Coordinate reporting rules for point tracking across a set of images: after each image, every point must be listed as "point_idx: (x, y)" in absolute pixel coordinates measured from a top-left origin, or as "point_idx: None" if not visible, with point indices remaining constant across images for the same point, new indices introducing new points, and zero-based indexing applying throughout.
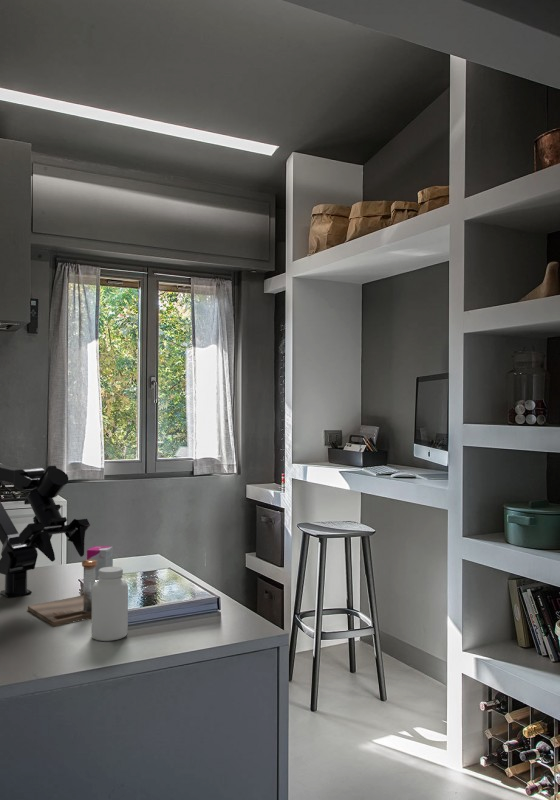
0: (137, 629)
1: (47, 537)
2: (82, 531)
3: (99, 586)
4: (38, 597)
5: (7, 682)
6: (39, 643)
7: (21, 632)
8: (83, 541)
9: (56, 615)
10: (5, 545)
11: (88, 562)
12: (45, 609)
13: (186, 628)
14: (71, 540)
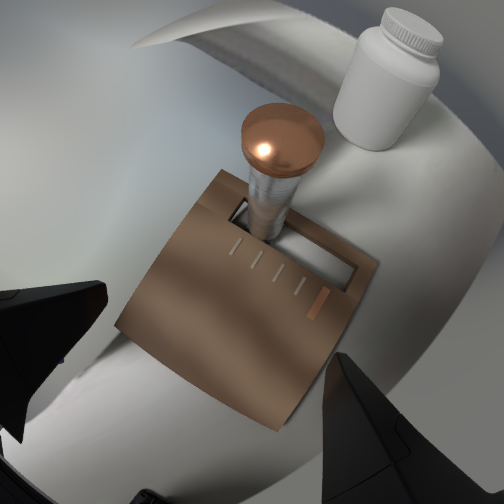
0: (311, 95)
1: (425, 470)
2: None
3: (437, 63)
4: (160, 463)
5: None
6: (448, 228)
7: (424, 310)
8: (27, 291)
9: (332, 292)
10: None
11: (309, 125)
12: (293, 362)
13: (272, 45)
14: (21, 409)
